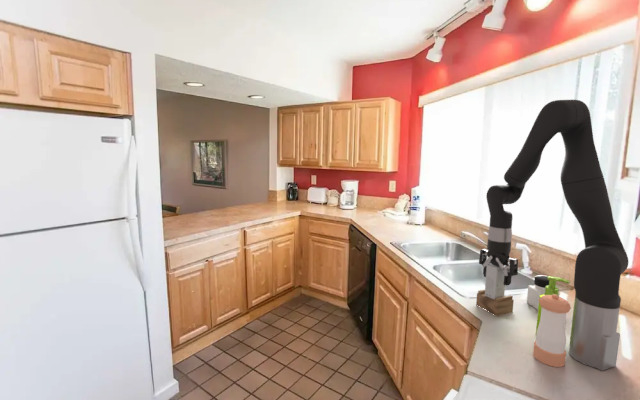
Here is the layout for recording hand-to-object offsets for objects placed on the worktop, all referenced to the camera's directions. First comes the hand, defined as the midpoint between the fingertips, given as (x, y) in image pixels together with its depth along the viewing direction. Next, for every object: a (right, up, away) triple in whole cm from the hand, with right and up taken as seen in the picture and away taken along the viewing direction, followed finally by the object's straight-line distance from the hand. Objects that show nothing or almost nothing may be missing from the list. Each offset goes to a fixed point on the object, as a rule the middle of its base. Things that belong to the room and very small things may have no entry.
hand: (496, 280), depth 113 cm
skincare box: (0, -6, +1) cm, 6 cm away
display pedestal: (0, -11, +1) cm, 11 cm away
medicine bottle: (+19, -11, +3) cm, 23 cm away
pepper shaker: (-1, -15, -27) cm, 31 cm away
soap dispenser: (+7, -14, -17) cm, 23 cm away
